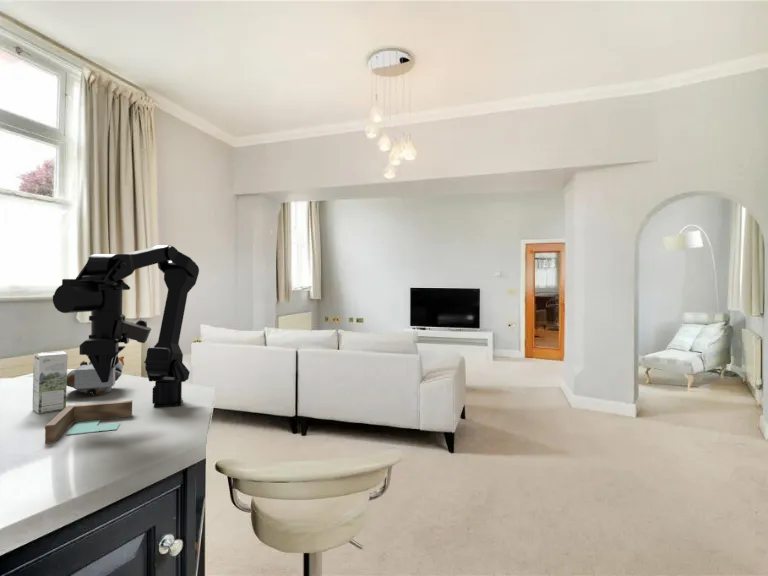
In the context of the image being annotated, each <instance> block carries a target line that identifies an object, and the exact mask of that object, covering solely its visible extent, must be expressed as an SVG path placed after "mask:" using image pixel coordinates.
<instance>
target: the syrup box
mask: <svg viewBox="0 0 768 576" xmlns="http://www.w3.org/2000/svg"><path fill="white" fill-rule="evenodd" d="M67 375H68V353H67V352H65V351H64V350H58V351H55V350H54V351H45V352H43V351H42V352H34V353H33V375H32V376H33V377H32V379H33V380H32V382H33V383H32V410H33V411H34V412H35V413H36V414H40V413H41V414H45V413H46V412H47V413H51V411H53V412H57V410H59V411H62V410H63V409H65V408H66V407H67V387H68V386H67ZM41 414H40V415H41Z"/></svg>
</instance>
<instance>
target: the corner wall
mask: <svg viewBox="0 0 768 576" xmlns="http://www.w3.org/2000/svg"><path fill="white" fill-rule="evenodd" d="M132 415H133V399H132V400H123V401H122V400H121V401H120V400H119V401H118V400H117V401H108V402H96V403H95V402H94V403H84V404H83V403H82V404H71V405H69V404H68V405H66V408H65V409H63V410H60V412H59V413H57V414H56V415H55V417H54V418H52V419H51V420H50V421H49V422H48V423H47V424H46V425H45V426H44V427H45V431H44V433H45V434H44V439H45V440H44V443H45V444H52V443H55V442H56V441H57V440H58V439H60V437H61V436H62V435H63V434H64V433H65V432H66V431H67V430H68V428H69V427H71V425H72V424H73V423H77V422H86V421H96V420H97V419H98V420H107V418H108V419H117V418H116V417H119V418H125V417H126V418H128V417H127V416H130V417H132Z"/></svg>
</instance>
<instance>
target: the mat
mask: <svg viewBox="0 0 768 576" xmlns="http://www.w3.org/2000/svg"><path fill="white" fill-rule="evenodd" d="M100 422H101V419H98V420H87V421H76V422H75V424H74V425H73V426H72V427H71V429H70V430H69V431H68V432H66V434H65V435H66V436H72V435H80V434H81V435H82V434H90V433H92V432H93V433H99V431H103V432H110V431H109V430H112V431H117V430H118V429H119V427H120V425H121V422H118V423H116V422H115V423H106V424H105V423H104V424H100ZM98 423H99V424H98Z"/></svg>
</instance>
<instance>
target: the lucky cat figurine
mask: <svg viewBox="0 0 768 576" xmlns="http://www.w3.org/2000/svg"><path fill="white" fill-rule="evenodd" d="M124 359H125V356H120V357H119V353H118V354H117V357H116V360H115V364H114V366H115V382H116V381H118V380H119V378H120V377H121V376H122V374H123V373H122V372H123V369H124V366H125V362H124V361H125V360H124ZM79 365H80V366H82V365H92V363H91V362H90V361H89V362H87V361H85V360H83V361H81V362H80V364H79ZM80 366H79V367H80ZM76 369H77V368H75V369H73V370H71V371H70V372H69V373H67V387H68V388H69V387H70V388H72V389H74V386H75V370H76ZM112 387H113V386H110V387H96V388H81V389H75V390H77V391H79V392H83V393H85V394H92V396H93V397H94V396H95V397H97V395H98V396H100V395H104V393H105V394H108V393H110V392H111V390H112V389H113V388H112Z"/></svg>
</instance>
